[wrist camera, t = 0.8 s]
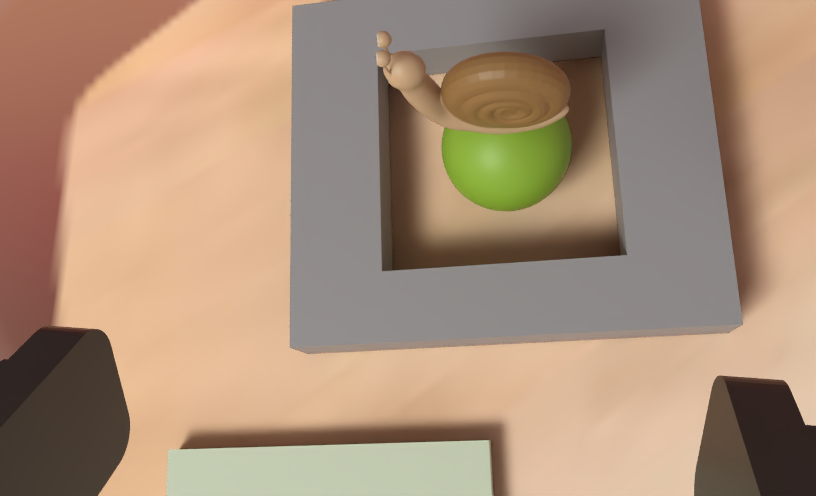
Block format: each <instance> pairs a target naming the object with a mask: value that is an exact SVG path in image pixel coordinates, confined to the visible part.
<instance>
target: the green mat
mask: <svg viewBox="0 0 816 496" xmlns="http://www.w3.org/2000/svg"><path fill="white" fill-rule="evenodd" d="M166 496H494V493H493V474H492V455H491V440H477V441H444V442H410V443H377V444H343V445H310V446H276V447H243V448H209V449H176V450H168V469H167V491H166Z"/></svg>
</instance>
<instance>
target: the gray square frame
mask: <svg viewBox="0 0 816 496" xmlns="http://www.w3.org/2000/svg"><path fill="white" fill-rule="evenodd" d="M380 31H386V32H388V33H389V34H390V35H391V38H392V41H391V44H390V45H389V46H388V47H387V49H388V51H389V52H390V53H391V54H394V53H396V52H398V51H410V52H413V53H415V54H417V55H418V56H419V57H421V59H422V60H423V61H424V63H425V66H426V74H427V75H433V74H442V73H448V71H449V70H450V69H451V68H452V67H453V66H454V65H456V64H458V63H459V62H461V61H463V60H465V59H468V58H470V57H473V56H476V55H480V54H485V53H492V52H520V53H527V54H531V55H535V56H539V57H542V58H544V59H547V60H549V61H551V62H554V61H563V60H573V59H582V58H591V57H601V63H602V73H603V83H604V94H605V104H606V114H607V124H608V134H609V145H610V155H611V165H612V175H613V185H614V196H615V206H616V216H617V226H618V236H619V247H620V256H606V257H591V258H576V259H561V260H546V261H530V262H515V263H500V264H485V265H470V266H455V267H440V268H425V269H410V270H395V271H393V252H392V212H391V171H390V131H389V91H388V80H387V78H386V77H385V75H384V72H383V67H379V66H378V65H377V64H376V61H375V56H376V53H377V52H378V51H379V50H385V48H380V47H378V45H377V43H376V36H377V34H378V33H379V32H380ZM741 325H743V321H742V314H741V306H740V299H739V291H738V284H737V276H736V269H735V262H734V254H733V247H732V239H731V232H730V224H729V217H728V209H727V202H726V195H725V187H724V180H723V172H722V165H721V157H720V150H719V143H718V135H717V128H716V120H715V113H714V105H713V98H712V91H711V83H710V76H709V68H708V61H707V53H706V46H705V38H704V31H703V24H702V16H701V9H700V1H699V0H336V1H328V2H320V3H312V4H304V5H296V6H293V9H292V135H291V261H290V348H292V349H295V350H298V351H301V352H304V353H307V354H314V353H334V352H354V351H374V350H394V349H414V348H434V347H454V346H475V345H495V344H515V343H535V342H555V341H575V340H595V339H615V338H635V337H656V336H676V335H696V334H716V333H729V332H731V331H733V330H734V329H736V328H738V327H739V326H741Z"/></svg>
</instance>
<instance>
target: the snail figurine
mask: <svg viewBox="0 0 816 496" xmlns="http://www.w3.org/2000/svg"><path fill="white" fill-rule="evenodd" d="M391 41H392V38H391V35H390V34H389V33H388V32H386V31H380V32H379V33H378V34H377V36H376V43H377V45H378V47H380V48H385V50H379V51H378V52H377V53H376V56H375V61H376V64H377V65H378V66H379V67H383V72H384V75H385V77H386V78H387V80H388V82H389V84H390V85H391V86H393V87H395V88H397V89H399V90H400V91H401V93H402V94H403V96H404V97H405V98H406V100H407V101H408V102H409V103H410V104H411V105H412V106H413V107H414V108H415V109H416V110H417V111H419V112H420V113H421V114H422V115H424V116H425V117H427V118H428V119H430V120H431V121H433V122H435V123H437V124H439V125H441V126H443V127H445V128H444V132H443V137H442V157H443V162H444V166H445V169H446V172H447V174H448V176H449V178H450V180H451V181H452V183H453V184H454V186H455V187H456V188H457V189H458V190H459V192H460V193H461V194H463V195H464V196H465V197H466V198H467V199H469V200H470V201H472V202H473V203H475V204H477V205H479V206H482V207H484V208H487V209H491V210H497V211H515V210H520V209H524V208H527V207H530V206H532V205H534V204H536V203H538V202H540V201H542V200H543V199H545V198H546V197H547V196H548V195H549V194H551V193H552V192H553V191H554V190H555V188H556V187H557V186H558V185H559V183H560V182H561V180H562V179H563V177H564V175H565V173H566V171H567V169H568V166H569V162H570V158H571V152H572V138H571V132H570V128H569V124H568V122H567V119H566V117H565V115H566V114H567V113H568V112H569V106H568V105H567V103H568V101H569V98H570V94H571V87H570V82H569V80H568V78H567V76H566V74H565V73H564V72H563V71H562V70H561V69H560V68H559V67H558V66H557V65H556V64H554V63H552V62H551V61H549V60H547V59H544V58H542V57H539V56H535V55H531V54H527V53H520V52H492V53H485V54H480V55H476V56H473V57H470V58H468V59H465V60H463V61H461V62H459V63H458V64H456V65H454V66H453V67H452V68H451V69H450V70H449V71H448V73H447V74H446V75H445V77H444V79H443V82H442V86H441V88H440V87H439V86H438V85H437V84H436V83H435V82H434V81H433V80H432V79H431V78H430V77H429V76H428V75H427V74H426V66H425V63H424V61H423V60H422V59H421V57H419V56H418V55H417V54H415V53H413V52H410V51H398V52H396V53H394V54H391V53H390V52H389V51H388V49H387V47H388V46H389V45H390V44H391Z"/></svg>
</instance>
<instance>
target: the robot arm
mask: <svg viewBox="0 0 816 496" xmlns="http://www.w3.org/2000/svg"><path fill="white" fill-rule="evenodd" d="M129 433H130V418H129V413H128V409H127V405H126V401H125V398H124V394H123V390H122V386H121V382H120V378H119V374H118V371H117V367H116V363H115V359H114V355H113V351H112V347H111V344H110V341H109V339H108V337H107V335H106V334H105V333H104V332H103V331H101V330H99V329H86V328H72V327H58V326H45V327H42V328H40V329H39V330H38V331H36V332H35V333H34V334H33V335H32V336H31V337H30V338H29V339H28V340H27V341H26V342H25V343H24V344H23V345H22V346H21V347H20V348H19V349H18V350H17V351H16V352H15V353H14V354H13V355H12V356H11V357H10V358H9V359H8V360H6V359H4V360H2V361H0V496H98V495H99V493H100V492H101V490H102V489H103V487H104V486H105V484H106V483H107V481H108V480H109V478H110V477H111V475H112V474H113V472H114V471H115V469H116V468H117V466H118V465H119V463H120V461H121V460H122V458H123V456H124V453H125V451H126V448H127V444H128V440H129ZM694 496H816V426H811V425H805V423H804V421H803V418H802V416H801V414H800V411H799V409H798V407H797V404H796V402H795V400H794V397H793V395H792V392H791V390H790V388H789V386H788V384H787V383H786V382H785V381H783V380H773V379H759V378H745V377H731V376H717V377H716V379H715V381H714V383H713V386H712V390H711V395H710V400H709V405H708V410H707V415H706V420H705V425H704V430H703V435H702V440H701V446H700V451H699V456H698V461H697V466H696V472H695V484H694Z"/></svg>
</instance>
